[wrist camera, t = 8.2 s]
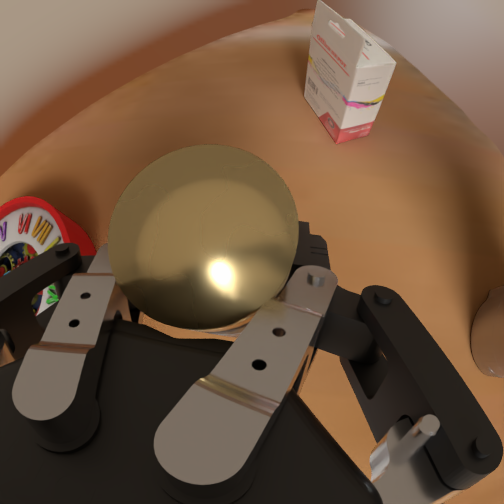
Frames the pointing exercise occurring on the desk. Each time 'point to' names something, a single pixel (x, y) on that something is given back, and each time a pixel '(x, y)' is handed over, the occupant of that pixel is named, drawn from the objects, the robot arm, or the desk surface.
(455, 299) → the desk surface
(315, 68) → the ink cartridge box
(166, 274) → the gold lidded jar
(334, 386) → the desk surface
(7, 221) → the toy clock
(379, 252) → the desk surface
